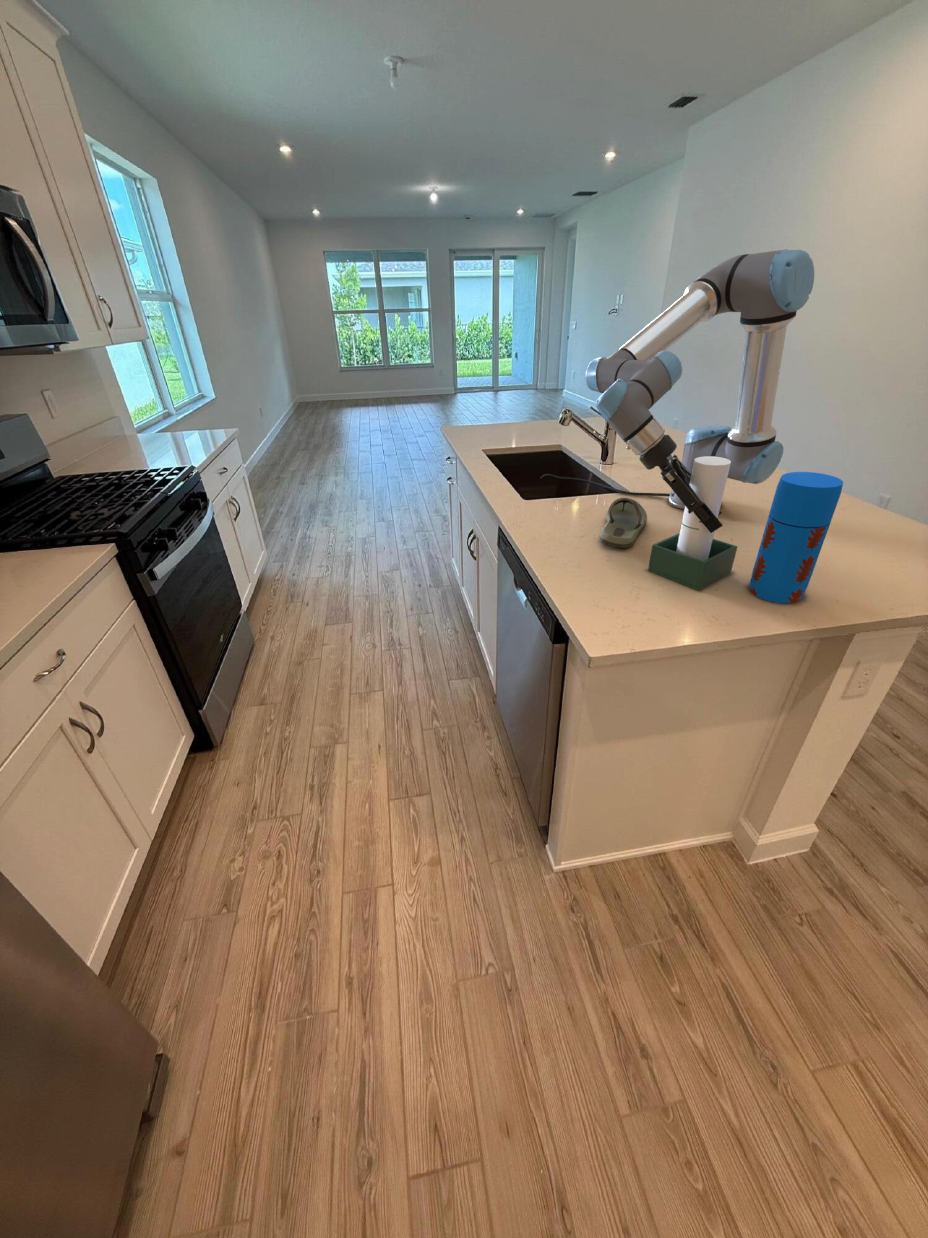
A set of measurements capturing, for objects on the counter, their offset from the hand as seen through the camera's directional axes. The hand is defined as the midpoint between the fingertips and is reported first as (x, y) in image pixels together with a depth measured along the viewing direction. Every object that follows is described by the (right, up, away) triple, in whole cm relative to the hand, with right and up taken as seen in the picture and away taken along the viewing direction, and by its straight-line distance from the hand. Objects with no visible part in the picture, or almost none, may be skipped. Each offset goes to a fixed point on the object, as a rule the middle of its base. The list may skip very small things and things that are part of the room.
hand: (716, 522), depth 114 cm
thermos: (+12, -16, -2) cm, 20 cm away
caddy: (-3, -10, +8) cm, 13 cm away
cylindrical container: (-3, -9, +7) cm, 12 cm away
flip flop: (-12, +3, +31) cm, 33 cm away
